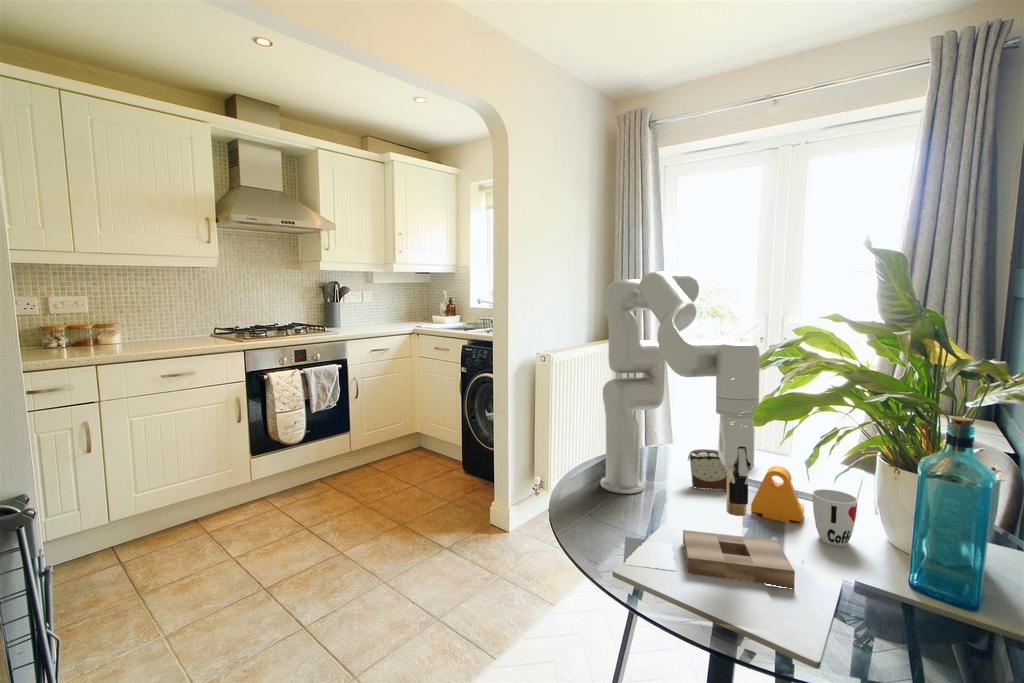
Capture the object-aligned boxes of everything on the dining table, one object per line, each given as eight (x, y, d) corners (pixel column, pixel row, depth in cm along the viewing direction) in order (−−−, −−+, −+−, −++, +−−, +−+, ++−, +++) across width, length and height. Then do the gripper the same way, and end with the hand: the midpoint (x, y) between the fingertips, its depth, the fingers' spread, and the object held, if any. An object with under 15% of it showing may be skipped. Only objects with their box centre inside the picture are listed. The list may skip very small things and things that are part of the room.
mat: (625, 539, 104) (625, 536, 104) (673, 544, 101) (673, 542, 101) (623, 567, 92) (623, 564, 92) (677, 574, 90) (677, 571, 90)
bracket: (803, 514, 116) (805, 467, 116) (801, 525, 110) (802, 475, 110) (755, 504, 123) (756, 459, 122) (751, 514, 117) (752, 467, 116)
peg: (725, 508, 94) (725, 453, 93) (744, 509, 93) (744, 454, 92) (728, 515, 90) (728, 458, 90) (748, 516, 89) (748, 459, 89)
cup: (825, 549, 99) (826, 503, 98) (803, 531, 107) (804, 488, 107) (865, 550, 99) (866, 503, 98) (840, 532, 107) (841, 489, 106)
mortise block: (682, 545, 101) (683, 530, 101) (775, 556, 96) (776, 540, 96) (688, 575, 89) (688, 557, 89) (794, 589, 84) (794, 571, 84)
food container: (727, 483, 139) (727, 449, 138) (733, 490, 132) (733, 455, 132) (683, 480, 141) (684, 447, 140) (687, 488, 135) (688, 453, 134)
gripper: (710, 399, 100) (709, 483, 100) (723, 413, 84) (722, 514, 85) (748, 400, 98) (748, 486, 98) (769, 415, 82) (768, 518, 83)
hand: (736, 498), depth 92 cm, fingers closed on peg, 3 cm apart
